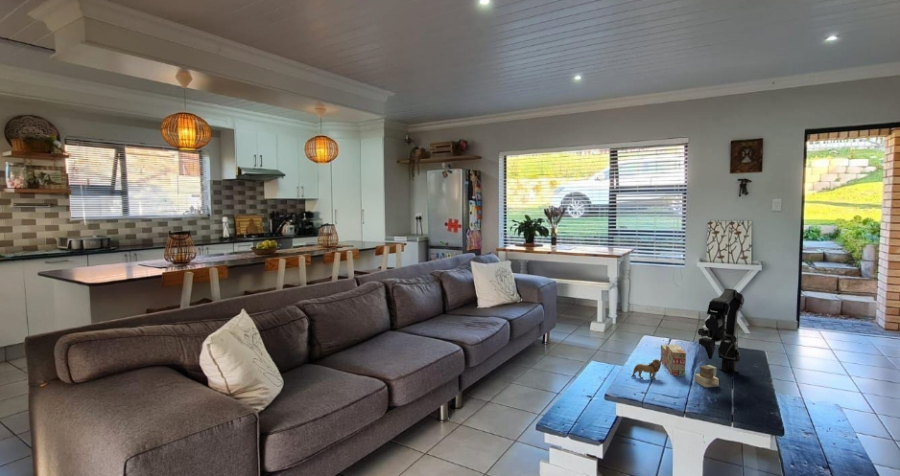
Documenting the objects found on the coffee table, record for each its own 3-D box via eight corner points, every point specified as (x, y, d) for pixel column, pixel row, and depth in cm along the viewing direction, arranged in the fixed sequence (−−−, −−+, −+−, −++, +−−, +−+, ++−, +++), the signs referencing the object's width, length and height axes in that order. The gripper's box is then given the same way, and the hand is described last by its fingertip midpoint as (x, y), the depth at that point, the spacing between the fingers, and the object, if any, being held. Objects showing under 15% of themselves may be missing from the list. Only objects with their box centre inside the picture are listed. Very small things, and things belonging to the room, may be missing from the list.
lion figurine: (657, 375, 228) (657, 357, 227) (662, 379, 222) (663, 361, 222) (628, 375, 226) (629, 358, 226) (633, 380, 221) (634, 362, 220)
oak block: (708, 381, 221) (708, 373, 220) (718, 387, 214) (718, 378, 213) (694, 381, 220) (695, 373, 219) (704, 387, 213) (705, 379, 212)
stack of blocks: (660, 361, 248) (661, 339, 247) (672, 361, 247) (673, 339, 246) (671, 375, 227) (672, 351, 226) (685, 376, 226) (686, 352, 225)
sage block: (708, 373, 230) (709, 365, 229) (715, 376, 226) (716, 367, 226) (703, 374, 228) (703, 366, 228) (710, 377, 224) (710, 368, 224)
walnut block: (705, 374, 219) (705, 365, 218) (713, 377, 215) (713, 368, 215) (699, 375, 217) (700, 366, 217) (707, 378, 213) (707, 369, 213)
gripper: (716, 319, 228) (715, 349, 229) (689, 323, 221) (688, 354, 222) (738, 325, 217) (736, 356, 219) (709, 330, 210) (708, 362, 212)
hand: (716, 357), depth 218 cm, fingers open, 9 cm apart
